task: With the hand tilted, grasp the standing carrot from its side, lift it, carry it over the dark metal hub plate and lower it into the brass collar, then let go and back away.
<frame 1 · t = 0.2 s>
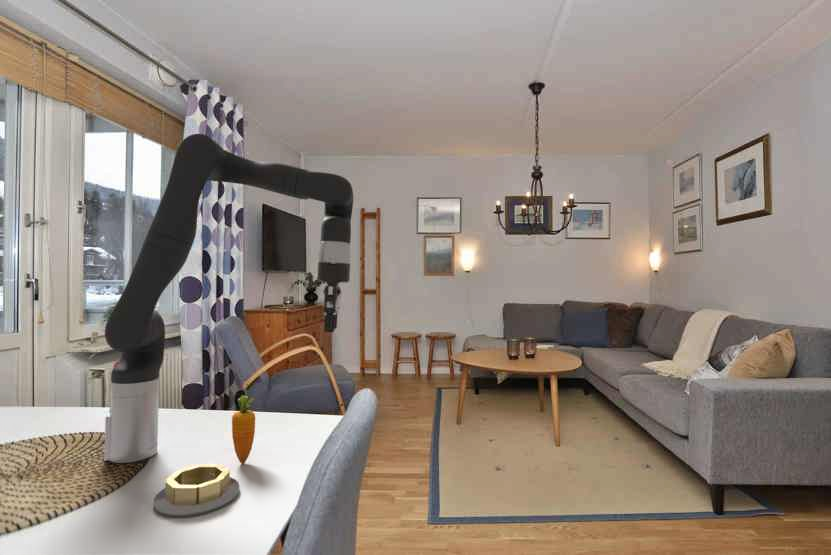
hand: (330, 330, 102), 29 cm above the table, tool pointing down, fingers open, 8 cm apart
carrot: (242, 464, 95), on the table
pepper mill: (125, 425, 120), on the table
hub socket: (198, 497, 80), on the table
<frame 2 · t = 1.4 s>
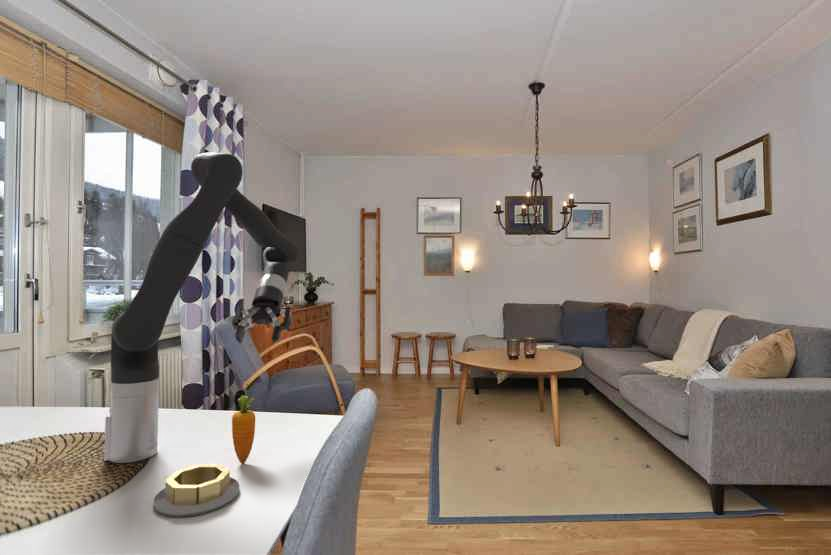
hand: (256, 340, 108), 25 cm above the table, tool tilted 45°, fingers open, 8 cm apart
nothing on the table moved.
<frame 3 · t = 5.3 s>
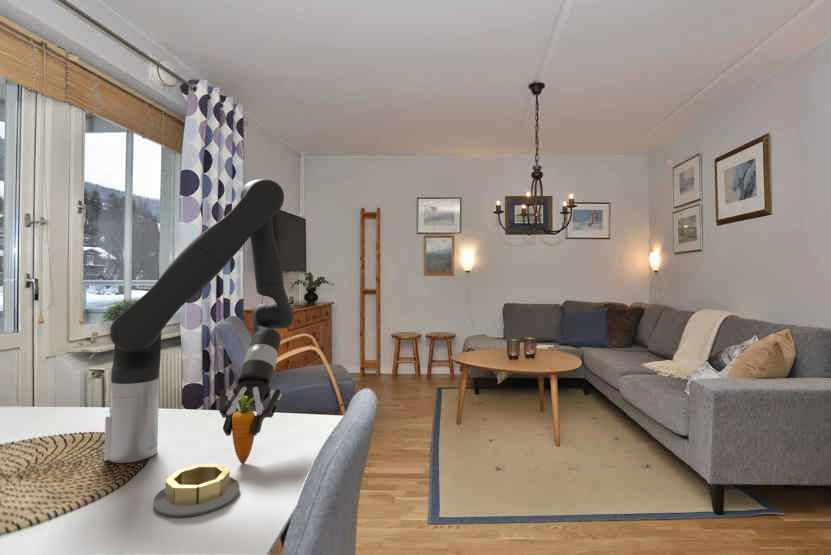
hand: (240, 433, 93), 7 cm above the table, tool tilted 45°, fingers closed on carrot, 5 cm apart
carrot: (242, 464, 95), on the table, touching gripper
everything else where it was.
when the fingers open (10 cm above the table, at t = 9.6 s): carrot drops 2 cm, resting on hub socket.
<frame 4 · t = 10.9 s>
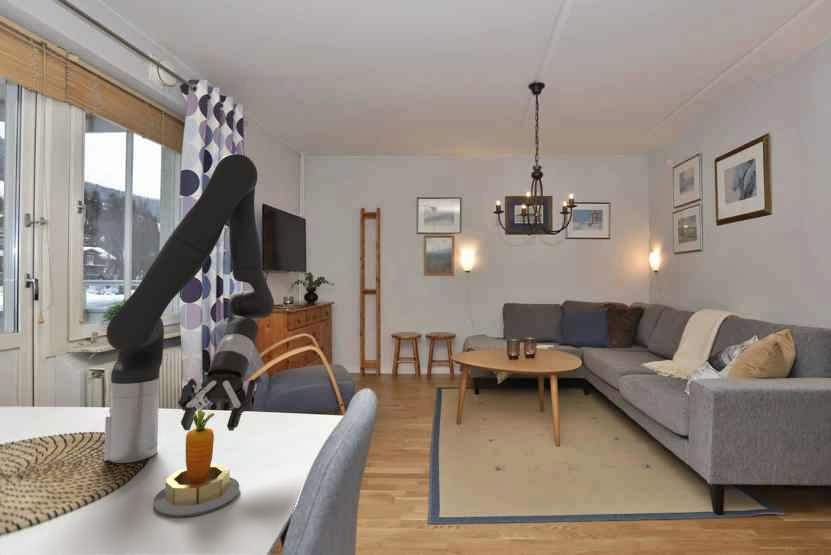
hand: (208, 428, 84), 11 cm above the table, tool tilted 45°, fingers open, 8 cm apart
carrot: (197, 492, 80), point 1 cm above the table, touching hub socket
everything else where it was.
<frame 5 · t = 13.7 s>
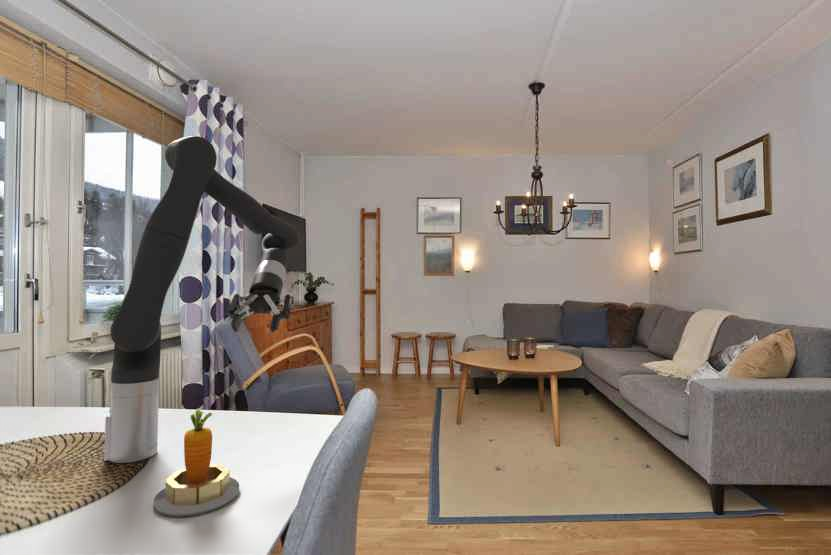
hand: (253, 329, 101), 29 cm above the table, tool tilted 45°, fingers open, 8 cm apart
nothing on the table moved.
at the end: carrot 0.2 cm off-centre on the hub socket, point 0.8 cm above the hub socket's base; carrot tilted 2°; the gripper is holding nothing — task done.
